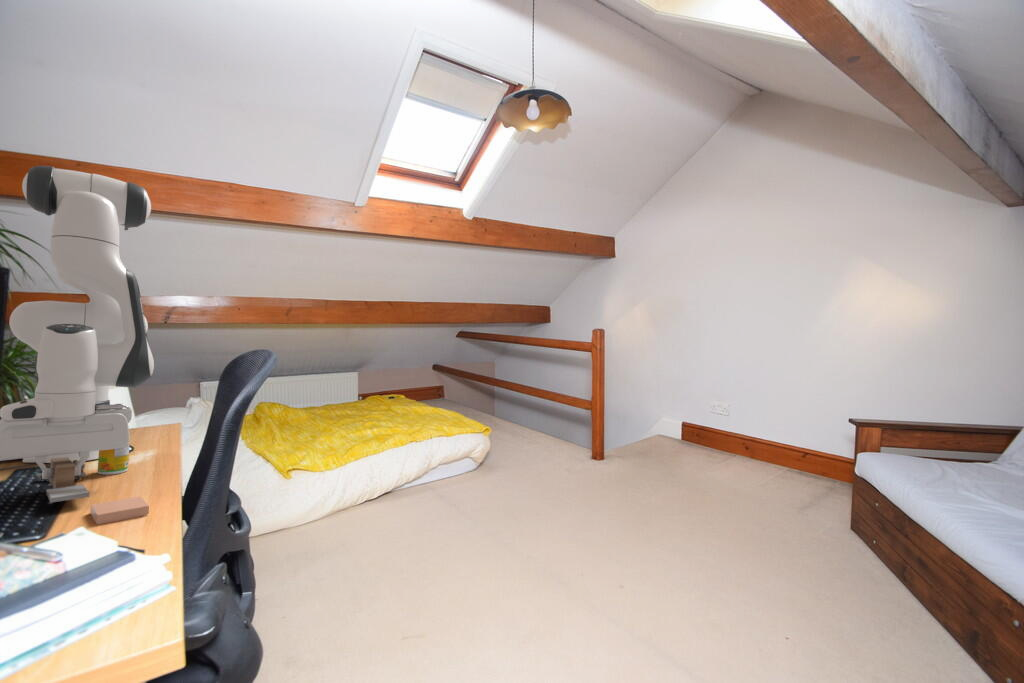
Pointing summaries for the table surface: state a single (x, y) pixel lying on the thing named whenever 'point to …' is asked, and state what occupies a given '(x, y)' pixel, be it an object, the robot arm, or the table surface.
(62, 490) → the brown bar with plate
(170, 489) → the table surface
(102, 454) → the supplement bottle
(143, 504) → the tile
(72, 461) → the wooden post with brackets
